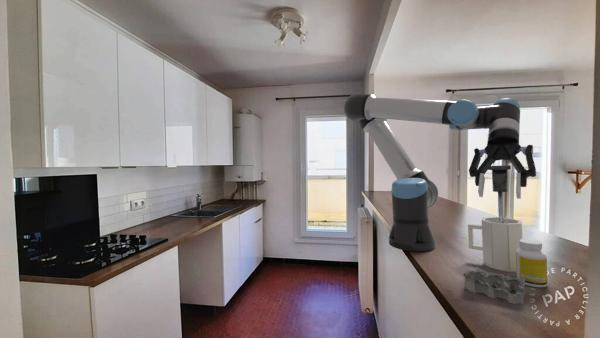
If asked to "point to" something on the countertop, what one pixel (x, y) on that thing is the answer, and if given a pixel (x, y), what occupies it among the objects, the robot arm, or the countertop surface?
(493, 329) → the countertop surface
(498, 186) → the plunger
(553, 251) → the countertop surface
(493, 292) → the egg carton
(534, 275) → the supplement bottle
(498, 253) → the white paneled mug
